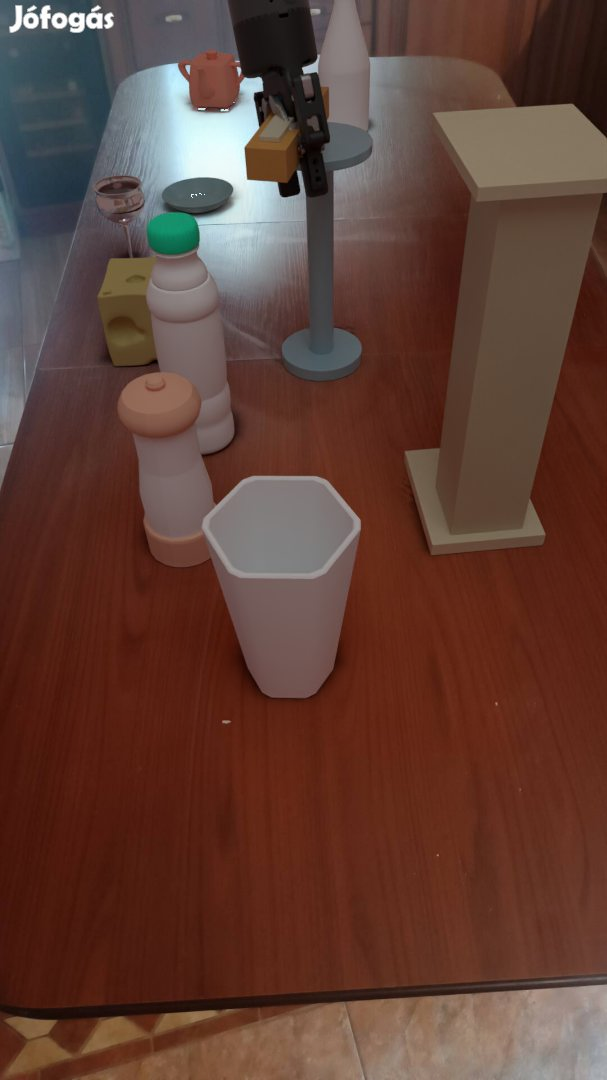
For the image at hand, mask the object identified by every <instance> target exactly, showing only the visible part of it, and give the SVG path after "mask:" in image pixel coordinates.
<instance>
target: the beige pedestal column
mask: <svg viewBox="0 0 607 1080" xmlns="http://www.w3.org/2000/svg"><path fill="white" fill-rule="evenodd" d="M431 116H432V117H431V128H432V129H433V131H434V133H435V135H436V136H437V138H438V140H439V141H440V144H441V145H442V146H443V148H444V150H445V151H446V153H447V155H448V157H449V158H450V160H451V162H452V163H453V165H454V167H455V168H456V170H457V172H458V173H459V175H460V177H461V178H462V180H463V182H464V183H465V185H466V187H467V189H468V191H469V192H470V200H469V201H470V202H469V208H468V217H467V224H466V235H465V241H464V250H463V258H462V264H461V265H462V267H461V274H460V282H459V290H458V292H459V293H458V299H457V307H456V314H455V324H454V329H453V330H454V332H453V338H452V348H451V357H450V363H449V371H448V381H447V387H446V397H445V404H444V414H443V420H442V429H441V437H440V445H439V447H435V448H424V449H413V450H405V451H404V456H403V457H404V458H403V463H404V467H405V470H406V474H407V477H408V480H409V484H410V488H411V492H412V495H413V497H414V501H415V504H416V508H417V512H418V514H419V519H420V522H421V525H422V526H421V527H422V529H423V533H424V536H425V539H426V543H427V547H428V550H429V554H430V556H440V555H450V554H460V553H461V554H462V553H472V552H482V551H493V550H495V551H496V550H504V549H515V548H516V549H517V548H526V547H538V546H543V545H544V542H545V540H546V539H545V538H546V536H547V534H546V532H545V529H544V527H543V524H542V522H541V520H540V517H539V516H538V514H537V511H536V509H535V507H534V504H533V502H532V500H531V495H532V491H533V487H534V482H535V477H536V474H537V470H538V464H539V461H540V456H541V454H542V453H541V452H542V449H543V445H544V441H545V436H546V433H547V428H548V424H549V420H550V415H551V411H552V406H553V404H554V398H555V395H556V391H557V386H558V382H559V378H560V375H561V369H562V365H563V362H564V357H565V353H566V349H567V344H568V341H569V336H570V333H571V328H572V325H573V321H574V320H573V319H574V316H575V311H576V309H577V304H578V300H579V295H580V291H581V287H582V282H583V279H584V274H585V270H586V266H587V263H588V258H589V254H590V249H591V245H592V241H593V237H594V233H595V229H596V224H597V220H598V217H599V212H600V207H601V203H602V199H603V196H604V194H607V137H606V136H605V135H604V134H603V132H601V131H600V130H599V129H598V127H596V126H595V125H594V124H593V123H592V122H591V120H590V119H588V118H587V117H586V116H585V115H584V114H583V112H581V110H580V109H579V108H578V107H577V106H575V104H573V103H562V104H545V105H534V106H533V105H531V106H517V107H516V106H513V107H500V108H485V109H484V108H483V109H470V110H455V111H439V112H437V111H436V112H432V115H431Z"/></svg>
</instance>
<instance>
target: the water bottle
mask: <svg viewBox="0 0 607 1080" xmlns="http://www.w3.org/2000/svg"><path fill="white" fill-rule="evenodd" d="M200 235H201V233H200V228H199V224H198V221H197V219H196V218H195V217H194V216H193V215H191V214H190V213H187V212H179V211H174V212H165V213H162V214H159V215H156V216H154V217H153V218H151V219H150V220H149V221H148V223H147V225H146V238H147V239H146V240H147V243H148V246H149V249H150V252H151V253H152V254H153V255H154V256H155V257H156V262H155V264H154V266H153V269H152V273H151V278H150V281H149V284H148V287H147V291H146V301H147V305H148V308H149V310H150V312H151V320H152V329H153V336H154V343H155V348H156V354H157V359H158V360H157V363H158V368H159V372H169V373H175V374H178V375H180V376H183V377H185V378H186V379H187V380H188V381H189V382H191V383H192V384H193V385H194V386H195V387H196V389H197V391H198V393H199V395H200V398H201V400H202V403H201V409H200V413H199V416H198V418H197V420H196V421H195V424H196V430H197V436H198V442H199V448H200V453H201V456H202V455H209V454H214V453H217V452H219V451H222V450H223V449H224V448H226V447H227V446H228V445H229V444H230V443H231V442H232V440H233V439H234V436H235V422H234V416H233V412H232V408H231V403H232V400H231V397H232V396H231V390H230V385H229V382H228V379H227V377H228V373H227V372H228V369H227V353H226V345H225V336H224V329H223V321H222V316H221V311H220V308H219V307H220V306H219V301H220V291H219V286H218V284H217V282H216V281H215V279H214V277H213V276H212V274H211V273H210V271H209V270H208V268H207V265H206V264H205V263H204V261H203V260H202V258H200V256H199V255H198V250H199V249H200V241H201V236H200Z"/></svg>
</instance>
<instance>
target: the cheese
mask: <svg viewBox="0 0 607 1080" xmlns="http://www.w3.org/2000/svg"><path fill="white" fill-rule="evenodd" d="M155 262H156V256H152V257H151V256H150V257H149V256H148V257H133V258H130V257H127V258H126V257H124V258H123V257H122V258H121V257H120V258H118V257H115V258H113V257H112V258H109V261H108V263H107V266H106V270H105V271H106V272H105V275H104V279H103V282H102V285H101V287H100V290H99V292H98V293H97V297H96V298H97V304H98V312H99V315H100V319H101V324H102V326H103V333H104V336H105V337H104V338H105V342H106V344H107V345H106V346H107V349H108V352H109V356H110V359H111V361H112V364H113V367H131V366H132V367H133V366H145V365H149V364H151V363H152V362H153V361H158V359H157V354H156V348H155V343H154V336H153V329H152V320H151V312H150V310H149V308H148V305H147V301H146V291H147V287H148V284H149V281H150V278H151V273H152V269H153V266H154V264H155Z"/></svg>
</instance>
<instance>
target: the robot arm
mask: <svg viewBox="0 0 607 1080" xmlns="http://www.w3.org/2000/svg"><path fill="white" fill-rule="evenodd" d="M226 1H227V6H228V11H229V15H230V20H231V21H230V22H231V26H232V31H233V36H234V41H235V46H236V51H237V55H238V60H239V61H238V62H240V66H241V68H240V72H241V71H242V74H243V76H244V77H245V79H257V78H259V79H261V81H262V90H259V91H255V92H254V93H253V101H254V107H255V112H256V118H257V122H258V123H257V124H258V129H259V128H260V126H261V125H262V124H263V123H264V121H265V120H266V119H267V117H268V116H269V115H270V114H271V112H272V111H273V114H274V115H278V116H279V117H281V119H282V120H283V121H284V122H287V121H290V120H289V118H288V117H294V122H291V123H290V127H289V130H294V129H299V130H300V132H299V136H298V147H297V151H298V154H299V156H303V157H301V158H299V161H300V166H301V171H300V172H301V176H302V183H303V188H304V193H305V197H306V196H307V197H309V198H313V197H317V196H321V195H325V194H327V193H328V183H327V177H326V172H325V166H324V160H323V154H322V153H321V151H324V150H325V144H327V143H329V142H330V134H329V129H328V123H327V118H326V113H325V107H324V102H323V97H322V91H321V86H320V81H319V76H318V71H314V72H307V73H304V70H303V68H306V67H308V66H311V65H313V64H315V63H316V62H317V61H318V59H319V58H318V55H319V54H318V50H317V48H318V47H317V43H316V37H315V31H314V24H313V19H312V12H311V7H310V1H309V0H226ZM307 118H308V120H307ZM276 183H277V188H278V193H279V196H280V197H281V198H284V199H286V198H291V197H294V196H295V197H296V196H298V195H300V193H301V184H300V180H299V174H298V171H297V170H295V172H294V173H293V175H292V176H291V178H290V179H289V181H288V183H282V182H276Z"/></svg>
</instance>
